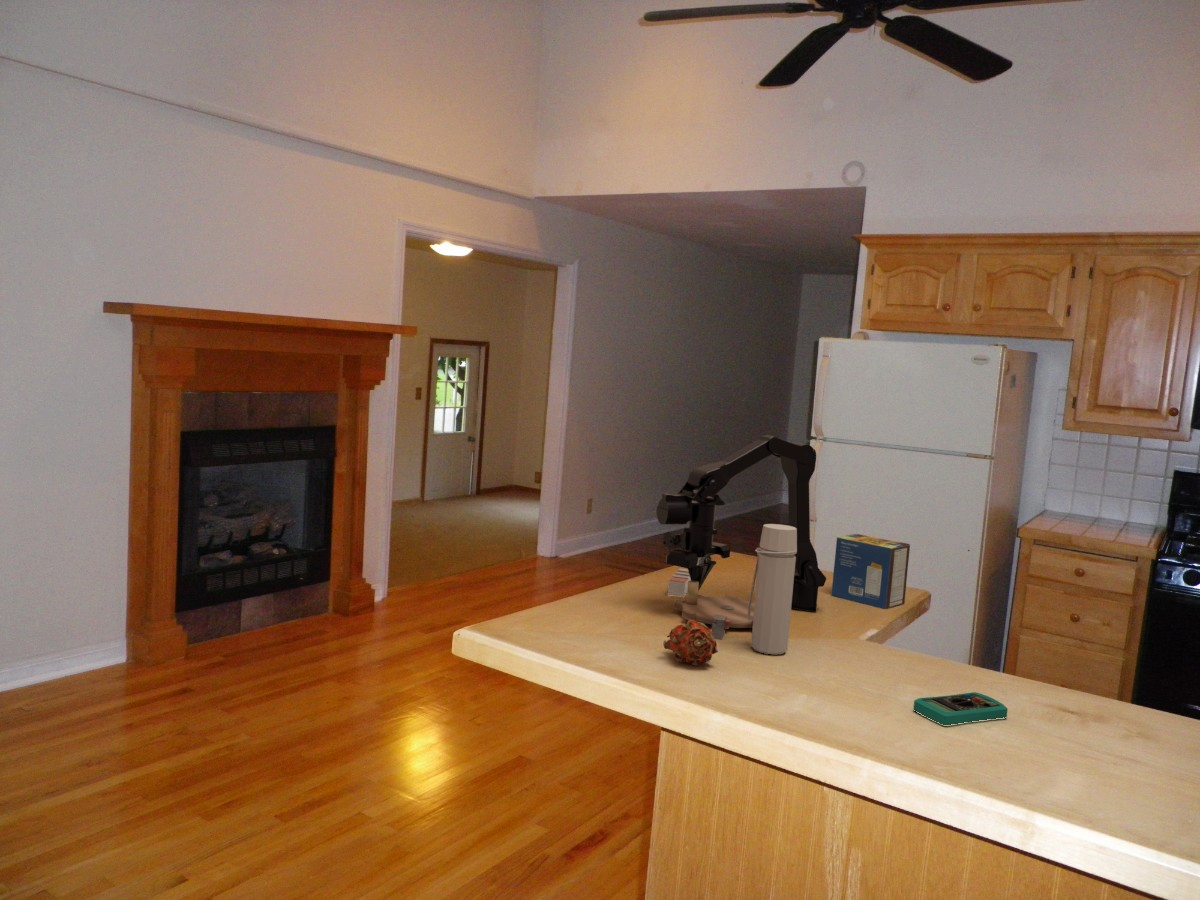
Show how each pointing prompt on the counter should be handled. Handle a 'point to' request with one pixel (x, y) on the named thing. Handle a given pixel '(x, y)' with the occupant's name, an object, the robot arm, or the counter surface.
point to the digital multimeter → (960, 708)
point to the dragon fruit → (692, 643)
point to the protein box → (870, 570)
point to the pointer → (718, 626)
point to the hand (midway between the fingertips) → (695, 591)
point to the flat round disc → (715, 608)
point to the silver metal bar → (679, 583)
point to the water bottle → (773, 588)
